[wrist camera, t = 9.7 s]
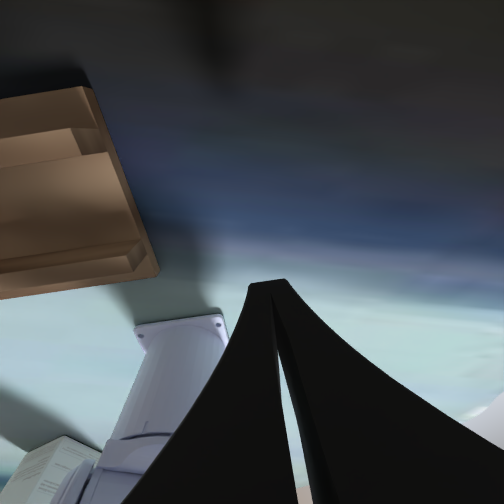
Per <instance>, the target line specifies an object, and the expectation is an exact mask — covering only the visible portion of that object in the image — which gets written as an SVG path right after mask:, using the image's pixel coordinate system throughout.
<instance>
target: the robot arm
mask: <svg viewBox="0 0 504 504" xmlns="http://www.w3.org/2000/svg"><path fill="white" fill-rule="evenodd" d="M217 323H220V324H217ZM133 332H134V334H135V336H136V338H137V340H138V342H139V344H140V346H141V348H142V350H143V352H144V354H145V357H144V359H143V362H142V364H141V367H140V369H139V371H138V374H137V376H136V378H135V381H134V383H133V386H132V388H131V390H130V393H129V395H128V397H127V400H126V402H125V404H124V407H123V409H122V412H121V414H120V416H119V419H118V421H117V423H116V426H115V428H114V430H113V433H112V435H111V438H110V439H109V440H107V442H106V444H105V447H104V449H103V451H102V454H101V456H100V458H99V461H98V463H97V465H96V468H93V466H94V464H95V461H96V460H94V459H85V460H83V461H82V463H81V464H80V465H78V466H77V467H75V468H74V469H72V470H71V471H70V472H68V473H67V475H66V476H65V478H64V479H63V481H62V483H61V484H60V486H59V488H58V489H57V491H56V493H55V495H54V496H53V498H52V500H51V502H50V504H298V500H297V493H296V487H295V481H294V475H293V469H292V463H291V457H290V451H289V445H288V439H287V433H286V427H285V421H284V415H283V408H282V400H281V387H280V374H279V362H278V353H279V357H280V360H281V364H282V368H283V371H284V375H285V379H286V382H287V386H288V390H289V393H290V397H291V401H292V404H293V408H294V412H295V415H296V420H297V424H298V428H299V433H300V438H301V443H302V448H303V453H304V458H305V464H306V469H307V474H308V479H309V485H310V490H311V495H312V500H313V504H504V450H502V449H501V448H499V447H497V446H496V445H494V444H492V443H491V442H489V441H487V440H486V439H484V438H482V437H481V436H479V435H478V434H476V433H475V432H473V431H471V430H470V429H468V428H467V427H465V426H463V425H462V424H460V423H459V422H457V421H455V420H454V419H452V418H451V417H449V416H447V415H446V414H444V413H443V412H441V411H440V410H438V409H437V408H435V407H434V406H432V405H431V404H430V403H428V402H427V401H425V400H424V399H422V398H421V397H419V396H418V395H416V394H415V393H413V392H412V391H410V390H409V389H407V388H406V387H404V386H403V385H401V384H400V383H398V382H397V381H396V380H394V379H393V378H391V377H390V376H389V375H387V374H386V373H385V372H383V371H382V370H381V369H379V368H378V367H377V366H375V365H374V364H373V363H371V362H370V361H369V360H367V359H366V358H365V357H364V356H362V355H361V354H360V353H359V352H357V351H356V350H355V349H354V348H353V347H351V346H350V345H349V344H348V343H347V342H345V341H344V340H343V339H342V338H341V337H340V336H339V335H338V334H336V333H335V332H334V331H333V330H332V329H331V328H330V327H329V326H328V325H327V324H326V323H325V322H324V321H323V320H322V319H320V317H319V316H318V315H317V314H316V313H315V312H314V311H313V310H312V309H311V308H310V307H309V306H308V305H307V304H306V303H305V302H304V301H303V300H302V298H301V297H300V296H299V295H298V294H297V292H296V291H295V290H294V289H293V288H292V286H291V285H290V284H289V282H288V281H287V280H286V279H277V280H270V281H263V282H256V283H251V284H250V285H249V286H248V292H247V296H246V299H245V303H244V306H243V309H242V311H241V314H240V317H239V319H238V322H237V324H236V327H235V329H234V331H233V333H232V336H231V338H230V340H229V338H228V334H227V330H226V326H225V322H224V319H223V316H222V315H221V314H212V315H205V316H198V317H191V318H184V319H177V320H170V321H163V322H156V323H149V324H142V325H137V326H136V327H135V328H134V330H133ZM141 334H143V335H141Z"/></svg>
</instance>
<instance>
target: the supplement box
mask: <svg viewBox="0 0 504 504" xmlns="http://www.w3.org/2000/svg"><path fill="white" fill-rule="evenodd" d="M101 454H102V453H100V452H98V451H96V450H94V449H92V448H90V447H88V446H86V445H83V444H81V443H79V442H77V441H75V440H73V439H71V438H69V437H67V436H62V437H60V438H57V439H55V440H53V441H51V442H49V443H47V444H45V445H43V446H41V447H39V448H36V449H34V450H32V451H30V452H29V453H27V454H26V455H25V457H24V458H23V460H22V461H21V463H20V464H19V466H18V467H17V469H16V471H15V472H14V474H13V475H12V477H11V478H10V480H9V481H8V483H7V484H6V486H5V487H4V489H3V490H2V492H1V493H0V504H50V502H51V500H52V498H53V496H54V495H55V493H56V491H57V489H58V488H59V486H60V484H61V483H62V481H63V479H64V478H65V476H66V475H67V473H68V472H70V471H71V470H72V469H74V468H75V467H77V466H78V465H80V464H81V463H82V461H83V460H85V459H94V460H96V461H95V464H94V466H93V468H96V465H97V463H98V461H99V458H100V456H101Z"/></svg>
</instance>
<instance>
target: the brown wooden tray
mask: <svg viewBox="0 0 504 504" xmlns="http://www.w3.org/2000/svg"><path fill="white" fill-rule="evenodd" d="M159 272H160V268H159V265H158V263H157V260H156V257H155V255H154V252H153V249H152V247H151V244H150V241H149V239H148V236H147V233H146V231H145V228H144V225H143V223H142V220H141V217H140V215H139V212H138V209H137V206H136V204H135V201H134V198H133V196H132V193H131V190H130V188H129V185H128V182H127V180H126V177H125V174H124V172H123V169H122V166H121V164H120V161H119V158H118V156H117V153H116V150H115V148H114V145H113V142H112V140H111V137H110V134H109V132H108V129H107V126H106V124H105V121H104V118H103V116H102V113H101V110H100V108H99V105H98V102H97V100H96V97H95V94H94V92H93V89H90V88H87V87H83V86H79V87H73V88H67V89H61V90H55V91H49V92H42V93H36V94H30V95H24V96H18V97H11V98H5V99H0V300H3V299H9V298H16V297H23V296H30V295H37V294H44V293H50V292H57V291H64V290H71V289H78V288H85V287H92V286H98V285H105V284H112V283H119V282H126V281H133V280H139V279H146V278H153V277H157V275H158V273H159Z"/></svg>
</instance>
